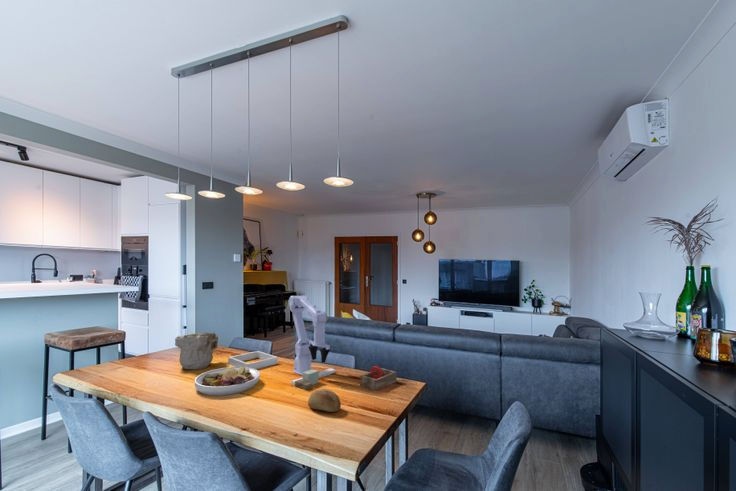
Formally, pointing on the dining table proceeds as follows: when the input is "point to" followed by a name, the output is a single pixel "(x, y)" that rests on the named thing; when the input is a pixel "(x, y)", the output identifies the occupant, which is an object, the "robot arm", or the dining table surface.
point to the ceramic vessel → (196, 349)
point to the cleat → (303, 384)
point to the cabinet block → (311, 376)
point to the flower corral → (265, 357)
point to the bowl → (227, 380)
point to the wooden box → (379, 383)
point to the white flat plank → (321, 374)
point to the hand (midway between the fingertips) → (318, 360)
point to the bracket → (378, 373)
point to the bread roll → (324, 400)
